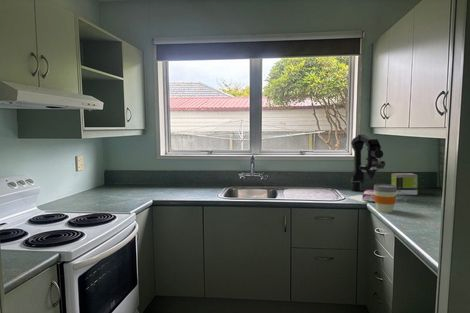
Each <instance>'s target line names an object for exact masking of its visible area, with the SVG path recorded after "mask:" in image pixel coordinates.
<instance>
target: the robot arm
mask: <svg viewBox="0 0 470 313" xmlns="http://www.w3.org/2000/svg"><path fill="white" fill-rule="evenodd" d="M350 144H351V148H352V149H353V153H354V155H353V156H354V158H353V160H354V163H353V164H354V170H353V171H352V173H351V174H352V175H351V177H350V179H349V183H352V184H351V189H350V191H352V192H362V191H363V189H362V184H364V181H365V176H364V175H365V172H364V171H366V173H367V175H368V177H369V179H370V180H373V179H374V176H375V174H376V172H377V171H379V170H380V169H381V170H382V169H385V167H386V161H385V160H381V161H379V159H381V158H383V156H384V151H382V149H381V148H382V146H381V144H380V141H379V139H378V138H371V137H369V136H367V135H365V134H357V135H356V136H355V137H354V138H353V139H352V140H351V143H350ZM364 145H366V147H367V148H366V150H367V157H366V158H365V160H366V161H367V163H366V164H362V150H363V148H364ZM363 192H364V191H363Z"/></svg>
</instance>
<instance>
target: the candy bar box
mask: <svg viewBox="0 0 470 313" xmlns="http://www.w3.org/2000/svg"><path fill="white" fill-rule="evenodd" d="M374 194H375V192H374V189H365V190H364V191H363V193H362V195H363V197H362V200H363V201H370V202H373V203H376V202H375V199H374Z"/></svg>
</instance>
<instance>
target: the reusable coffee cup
mask: <svg viewBox="0 0 470 313" xmlns="http://www.w3.org/2000/svg"><path fill="white" fill-rule="evenodd" d="M373 190H374V192H375V194H374V199H375V202H374V203H375V210H376V211H377V212H379V213H386V214H387V213H389V212H390V213H393V212H394V208H395V207H394V206H395V204H396V200H397V195H396V192H397V186H395V185H391V184H387V183H376V184H374V185H373ZM390 213H389V214H390Z"/></svg>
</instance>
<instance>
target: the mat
mask: <svg viewBox="0 0 470 313" xmlns="http://www.w3.org/2000/svg"><path fill="white" fill-rule="evenodd" d="M362 197H363V194H358V195H357V194H356V195H351V196H346V197H344V199H348V200H351V201H356V202H360V203H370V202H371V201H363V200H362Z"/></svg>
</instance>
